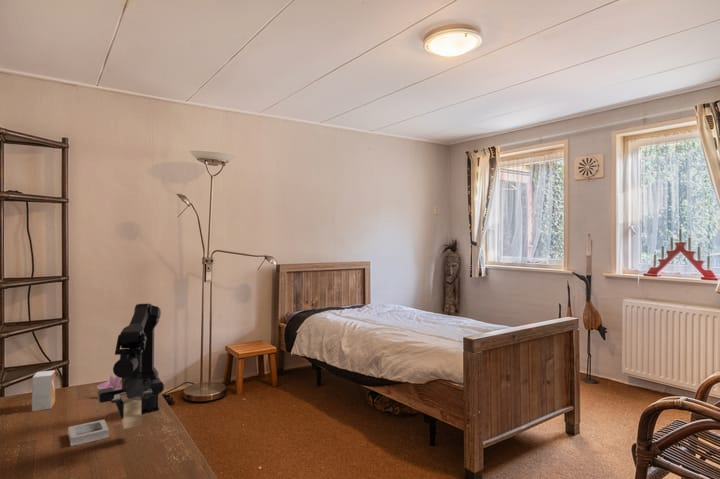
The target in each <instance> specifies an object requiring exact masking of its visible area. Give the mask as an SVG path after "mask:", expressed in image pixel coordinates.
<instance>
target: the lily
mask: <svg viewBox="0 0 720 479" xmlns="http://www.w3.org/2000/svg"><path fill="white" fill-rule="evenodd" d="M121 382H122V378H120V377H117V376H116V375H115V377H114V376H112V374H109V375H108V378H107V381H105V382H101V383H100V384H98V385H97V386H96V387H97V389H99V390H100V389H105V388H110V387H112V389H113V390H118V389H122V383H121Z"/></svg>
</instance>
